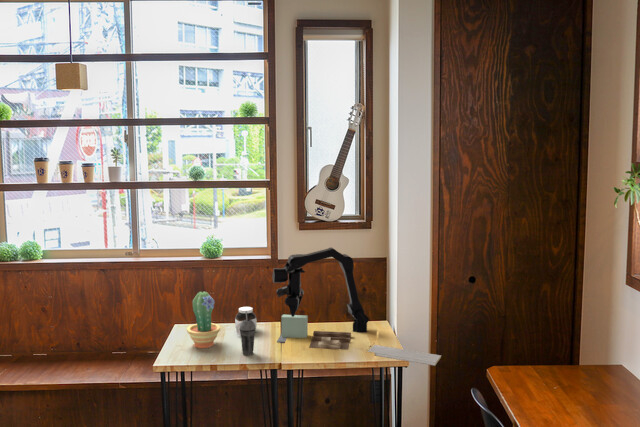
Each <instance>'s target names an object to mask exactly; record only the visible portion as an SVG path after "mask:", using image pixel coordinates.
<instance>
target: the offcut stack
mask: <svg viewBox="0 0 640 427" xmlns="http://www.w3.org/2000/svg"><path fill="white" fill-rule="evenodd" d="M340 345H341V343H340V342H339V340H331V337H322V339H321V342H319V343H318V347H328V348H340Z"/></svg>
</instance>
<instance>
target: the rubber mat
mask: <svg viewBox="0 0 640 427" xmlns="http://www.w3.org/2000/svg"><path fill="white" fill-rule="evenodd" d="M287 339H288V337H282V332H281V334H280V335H279V336H278V339H277V341H276V343H277V342H280V343H279V344H282V343H283V344H285V343H286V341H287Z"/></svg>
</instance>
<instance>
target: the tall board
mask: <svg viewBox="0 0 640 427" xmlns="http://www.w3.org/2000/svg"><path fill="white" fill-rule="evenodd" d="M308 318H309V317H308V315H307V314H306V315H305V314H304V315H302V314H301V315H300V314H295V315H294V317H292V316H291V314H282V315H281V319H280V320H281V322H280V323H281V326H280V327H281V333H282V337H287V338H293V339H294V338H295V339H296V338H298V339H307V337H308V334H309V332H308V330H309V329H308V324H309V323H308V320H309V319H308Z"/></svg>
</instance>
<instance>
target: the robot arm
mask: <svg viewBox="0 0 640 427" xmlns="http://www.w3.org/2000/svg"><path fill="white" fill-rule="evenodd" d="M329 258H333V259H334V260H336V261H338V265H339V266H340V269H341V270H342V273H343V275H344V279H345V285H346V288H347V293H348V297H349V303H347V304H346V306H347V310H348V311H347V312H348V313H349V314H350V315H351V316H352V317H353V319H354V320H353V323H352V332H356V333H360V334H364V333H368V323H369V320H370V318H369V317H368V316H367V315H366V314H365V310H364V307H363V306H362V303H361V302H360V300H359V295H358V291H357V287H356V286H357V285H356V280H355V276H354V265H355V264H354V259H353V258H352V257H351V256H349V255H348V254H347V253H346V254H345V253H341V252H339V251H338V250H336V249H335V248H333V247H328V248H325V249H320V250H317V251H314V252H309V253H306V254H304V253H303V254H298V253H297V254H296V253H295V254H290V255H289V256H288V258H287V262H286V263H285V264H284V266H283V268H281V267H280V268H278V267H275V268H273V271H272V276H271V277H272V279H271V280H272V282H273V283H274V284H278V283H286V282H288V284H287V285H286V286H283V287H280V288H277V289H276V291H275V292H276V295H277V297H278V298H280V297H283V296H286V297H285V299H284V304H285V305H286V306H288V308H289V312H290V315H291V316H292V317H294V315H296V312H298V310H299V307H300V304H301V302H302V300H303V297H304V294H305V291H304V289H303V288H302V287H301V286H302V280H301V274H303V273H304V274H305V272H306V271H305V270H304V269H303V267H304V266H306V265H308V264H309V263H314V262H318V261H321V260H325V259H329Z"/></svg>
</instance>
